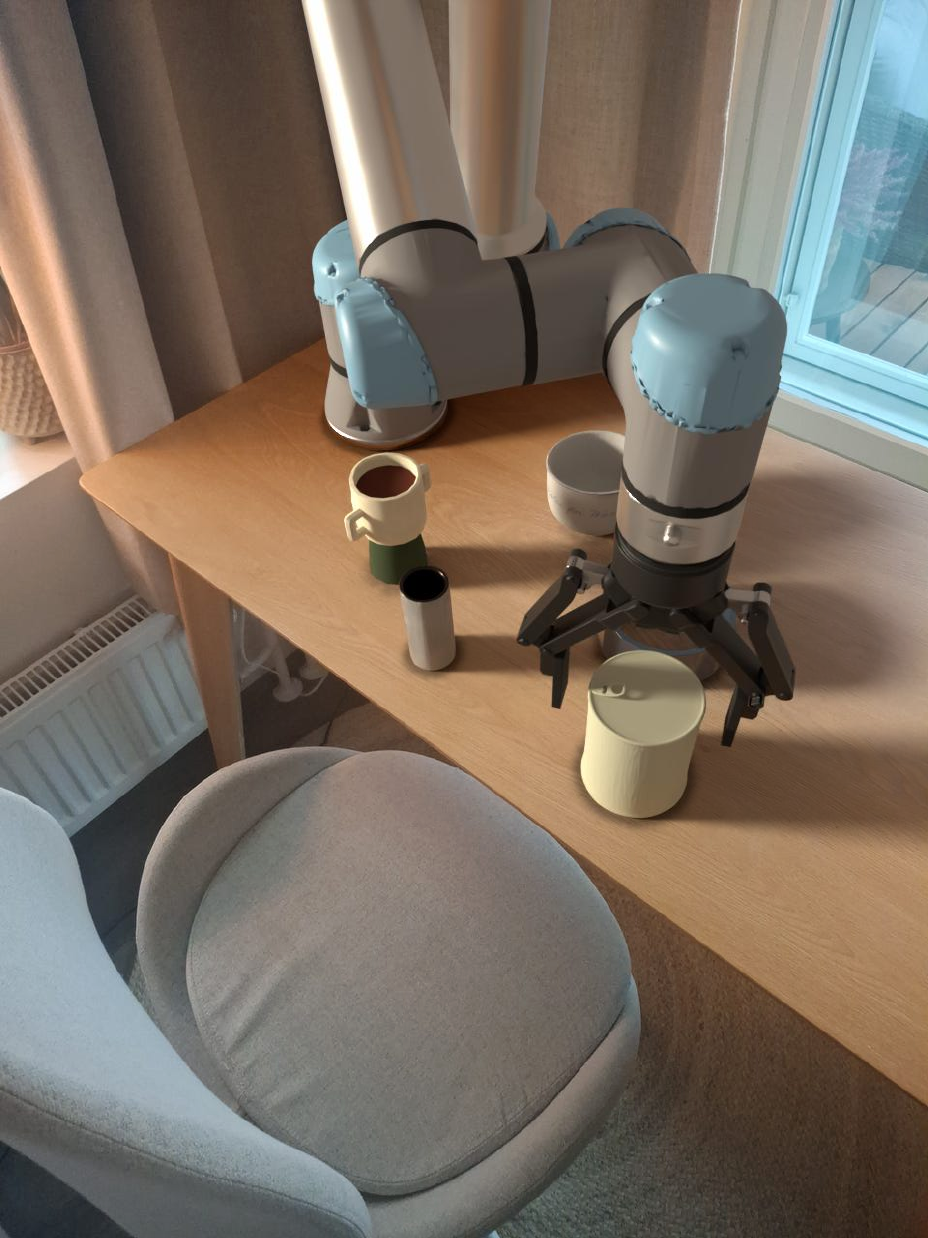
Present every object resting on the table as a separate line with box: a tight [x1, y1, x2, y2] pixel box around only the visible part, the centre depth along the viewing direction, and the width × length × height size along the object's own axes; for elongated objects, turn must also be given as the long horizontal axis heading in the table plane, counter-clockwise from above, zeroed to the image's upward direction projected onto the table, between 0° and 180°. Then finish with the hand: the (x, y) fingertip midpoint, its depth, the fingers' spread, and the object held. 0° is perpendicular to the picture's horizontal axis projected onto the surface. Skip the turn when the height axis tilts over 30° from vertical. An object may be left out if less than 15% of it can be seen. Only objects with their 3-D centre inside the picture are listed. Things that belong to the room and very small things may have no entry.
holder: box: [597, 584, 737, 682], centre depth 87 cm, size 12×12×5 cm
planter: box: [398, 564, 457, 671], centre depth 85 cm, size 4×4×10 cm
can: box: [580, 650, 707, 819], centre depth 75 cm, size 9×9×12 cm
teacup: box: [545, 429, 625, 537], centre depth 97 cm, size 14×11×8 cm
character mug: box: [344, 451, 432, 586], centre depth 92 cm, size 11×7×13 cm, turn 135°
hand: (641, 713), depth 73 cm, fingers open, 13 cm apart
